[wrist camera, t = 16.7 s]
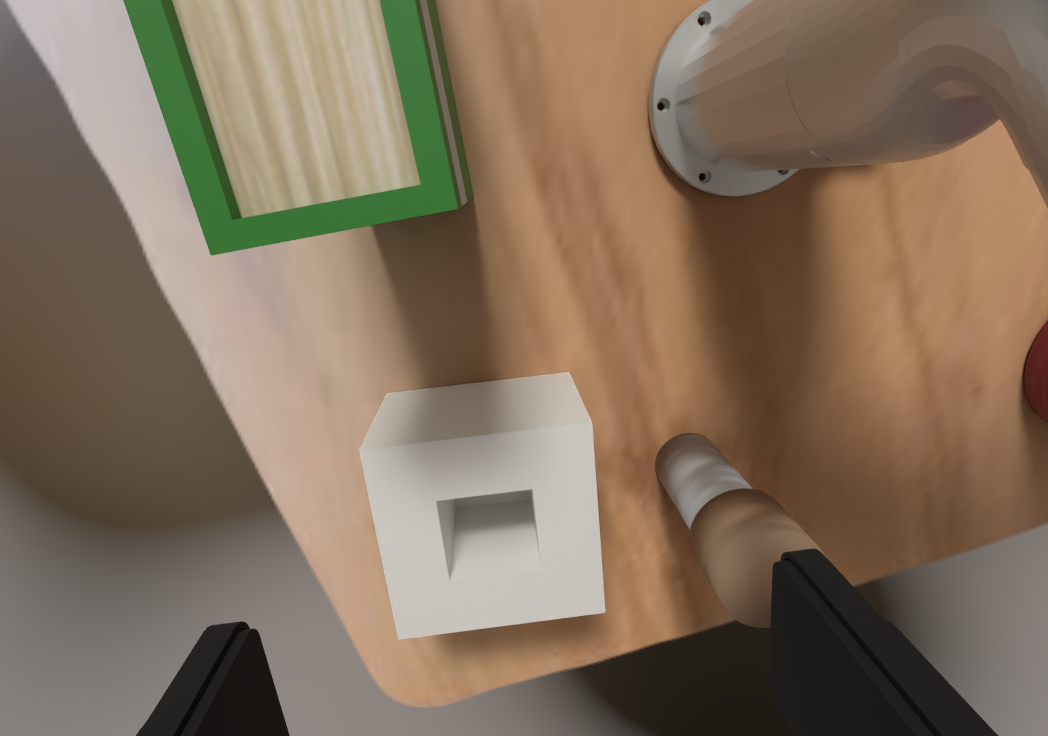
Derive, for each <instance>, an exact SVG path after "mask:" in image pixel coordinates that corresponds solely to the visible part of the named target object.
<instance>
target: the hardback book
mask: <svg viewBox="0 0 1048 736" xmlns="http://www.w3.org/2000/svg"><path fill="white" fill-rule="evenodd" d="M123 1H124V4H125V7H126V9H127V12H128V15H129V18H130V21H131V24H132V27H133V30H134V33H135V36H136V39H137V42H138V44H139V47H140V50H141V53H142V56H143V59H144V62H145V65H146V68H147V71H148V74H149V76H150V79H151V82H152V85H153V88H154V91H155V94H156V97H157V100H158V103H159V106H160V109H161V111H162V114H163V117H164V120H165V123H166V126H167V129H168V132H169V135H170V138H171V141H172V143H173V146H174V149H175V152H176V155H177V158H178V161H179V164H180V167H181V170H182V173H183V176H184V178H185V181H186V184H187V187H188V190H189V193H190V196H191V199H192V202H193V205H194V208H195V211H196V213H197V216H198V219H199V222H200V225H201V228H202V231H203V234H204V237H205V240H206V243H207V245H208V248H209V251H210V254H211V255H216V254H221V253H227V252H232V251H237V250H242V249H248V248H253V247H258V246H264V245H269V244H274V243H280V242H285V241H290V240H296V239H301V238H306V237H312V236H317V235H322V234H328V233H333V232H338V231H344V230H349V229H354V228H360V227H365V226H370V225H376V224H381V223H386V222H392V221H397V220H402V219H408V218H413V217H418V216H424V215H429V214H434V213H440V212H445V211H450V210H456V209H459V208H460V207H461V206H463V205H464V204H465V203H467V202H468V201H469V200H471V199H472V198H474V197H473V192H472V187H471V181H470V176H469V171H468V166H467V161H466V156H465V151H464V146H463V141H462V136H461V131H460V126H459V121H458V115H457V110H456V105H455V100H454V95H453V90H452V85H451V80H450V75H449V70H448V65H447V60H446V55H445V49H444V44H443V39H442V34H441V29H440V24H439V19H438V14H437V9H436V4H435V0H123Z"/></svg>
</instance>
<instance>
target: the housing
mask: <svg viewBox="0 0 1048 736" xmlns="http://www.w3.org/2000/svg"><path fill="white" fill-rule="evenodd" d="M359 452H360V457H361V462H362V467H363V472H364V477H365V481H366V486H367V491H368V496H369V501H370V505H371V510H372V515H373V520H374V525H375V530H376V534H377V539H378V544H379V549H380V554H381V559H382V563H383V568H384V573H385V578H386V583H387V587H388V592H389V597H390V602H391V607H392V612H393V616H394V621H395V626H396V631H397V636H398V640H399V639H407V638H415V637H423V636H430V635H438V634H446V633H453V632H461V631H469V630H477V629H484V628H492V627H500V626H507V625H515V624H523V623H530V622H538V621H546V620H554V619H561V618H569V617H577V616H584V615H592V614H600V613H605V600H604V585H603V571H602V557H601V542H600V528H599V514H598V500H597V485H596V471H595V457H594V442H593V428H592V421H591V419H590V417H589V415H588V412H587V410H586V408H585V406H584V404H583V401H582V399H581V397H580V395H579V393H578V390H577V388H576V386H575V384H574V382H573V380H572V377H571V375H570V373H569V372H563V373H555V374H546V375H538V376H529V377H520V378H512V379H503V380H495V381H486V382H478V383H469V384H460V385H452V386H443V387H435V388H426V389H417V390H409V391H400V392H392V393H386V395H385V397H384V400H383V402H382V404H381V406H380V408H379V410H378V412H377V414H376V416H375V418H374V420H373V422H372V424H371V426H370V429H369V431H368V433H367V435H366V437H365V439H364V441H363V443H362V445H361V447H360V449H359Z"/></svg>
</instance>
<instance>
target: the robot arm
mask: <svg viewBox="0 0 1048 736" xmlns="http://www.w3.org/2000/svg"><path fill="white" fill-rule="evenodd" d="M698 19H701V20H702V21H703V25H702V26H700V25H699V24H698ZM658 103H661V104H663V109H662V111H660V110H658V108H657V105H658ZM648 115H649V121H650V127H651V132H652V135H653V138H654V141H655V143H656V146H657V149H658V151H659V152H660V154H661V156H662V157H663V159H664V161H665V162H666V164H667V165H668V166H669V167H670V168H671V169H672V171H673V172H674V173H675V174H676V175H677V176H678V177H679V178H681V179H682V180H684V181H685V182H686V183H688V184H689V185H690V186H692V187H695V188H697V189H699V190H701V191H704V192H706V193H711V194H715V195H720V196H743V195H752V194H755V193H759V192H762V191H765V190H768V189H770V188H772V187H774V186H776V185H778V184H780V183H782V182H784V181H785V180H787V179H788V178H789V177H790V176H792V175H793V174H794V173H796V172H797V171H798V170H799V169H806V168H822V167H838V166H854V165H870V164H885V163H893V162H905V161H911V160H917V159H923V158H927V157H930V156H934V155H937V154H940V153H943V152H945V151H948V150H950V149H953V148H955V147H957V146H959V145H961V144H963V143H965V142H966V141H968V140H970V139H972V138H973V137H975V136H977V135H978V134H980V133H981V132H983V131H985V130H986V129H987V128H989V127H990V126H992V125H993V124H994V123H996V122H997V121H998V120H999V119H1000V120H1001V122H1002V123H1003V125H1004V127H1005V128H1006V130H1007V132H1008V134H1009V136H1010V138H1011V140H1012V142H1013V144H1014V146H1015V148H1016V150H1017V152H1018V154H1019V156H1020V158H1021V160H1022V162H1023V164H1024V165H1025V167H1026V168H1027V169H1028V170H1029V171H1030V173H1031V175H1032V177H1033V179H1034V181H1035V183H1036V185H1037V187H1038V189H1039V191H1040V193H1041V195H1042V197H1043V200H1044V202H1045V204H1046V206H1047V208H1048V0H708V1H707V2H706V3H704V4H703V5H701V6H700V7H698V8H697V9H696V10H694V11H693V12H692V13H691V14H690V15H688V16H687V17H686V18H685V19H684V20H683V21H682V22H681V23H680V24H679V26H678V27H677V28H676V29H675V30H674V32H673V33H672V34H671V35H670V36H669V38H668V40H667V41H666V43H665V45H664V47H663V49H662V50H661V52H660V54H659V56H658V59H657V62H656V64H655V67H654V70H653V73H652V77H651V82H650V88H649V93H648ZM778 170H780V171H779V172H778ZM700 173H702V174H703V176H704V178H703V180H702V181H700V180H699V174H700ZM769 651H770V652H769V683H770V687H771V691H772V693H773V696H774V698H775V700H776V702H777V704H778V705H779V707H780V709H781V710H782V713H783V714H784V716H785V718H786V720H787V721H788V723H789V725H790V727H791V728H792V730H793V732H794V734H795V735H796V736H998V735H997V734H996V733H995V732H994V731H993V730H992V729H991V728H990V727H989V726H988V724H987V723H986V722H985V721H984V720H983V719H982V718H981V717H980V716H979V715H978V714H977V713H976V712H975V711H974V710H973V708H972V707H970V705H969V704H968V703H967V702H966V701H965V700H964V699H963V698H962V697H961V696H960V695H959V694H958V692H957V691H956V690H955V689H954V688H953V687H952V686H951V685H950V684H949V683H948V682H947V681H946V680H945V679H944V678H943V677H942V675H941V674H940V673H939V672H938V671H937V670H936V669H935V668H934V667H933V666H932V665H931V664H930V663H929V662H928V660H927V659H926V658H925V657H924V656H923V655H922V654H921V653H920V652H919V651H918V650H917V649H916V648H915V647H914V646H913V645H912V643H911V642H910V641H909V640H908V639H907V638H906V637H905V636H904V635H903V634H902V633H901V632H900V631H899V630H898V629H897V628H896V627H895V626H894V625H893V624H891V623H890V622H888V621H886V620H883V619H882V617H881V616H880V615H879V614H878V613H877V612H876V611H875V610H874V609H873V608H872V607H871V606H870V604H869V603H868V602H867V601H866V600H865V599H864V598H863V597H862V596H861V595H860V594H859V593H858V591H856V589H855V588H854V587H853V586H852V585H851V584H850V583H849V582H848V581H847V580H846V578H845V577H844V576H843V575H842V574H841V573H840V572H839V571H838V570H837V569H836V568H835V567H834V565H833V564H832V563H831V562H830V561H829V560H828V559H827V558H826V557H825V556H824V555H823V554H822V553H821V552H820V551H819V550H818V549H814V548H813V549H805V550H797V551H790V552H785V553H783V554H782V556H781V560H780V561H778V562H774V564H773V569H772V596H771V623H770V650H769ZM136 736H289V732H288V729H287V726H286V722H285V719H284V716H283V712H282V709H281V706H280V702H279V699H278V695H277V692H276V689H275V685H274V682H273V679H272V675H271V672H270V669H269V665H268V662H267V659H266V655H265V652H264V648H263V645H262V642H261V638H260V635H259V633H258V631H257V630H256V629H250V628H249V626H248V624H246V623H245V622H234V623H227V624H219V625H211V626H209V627H207V629H206V630H205V631H204V632H203V634H202V635H201V637H200V639H199V640H198V642H197V643H196V645H195V646H194V648H193V649H192V651H191V653H190V654H189V656H188V657H187V659H186V660H185V662H184V664H183V665H182V667H181V668H180V670H179V671H178V673H177V675H176V676H175V678H174V679H173V681H172V683H171V684H170V686H169V687H168V689H167V690H166V692H165V693H164V695H163V697H162V698H161V700H160V701H159V703H158V705H157V706H156V708H155V709H154V711H153V713H152V714H151V716H150V717H149V719H148V720H147V722H146V723H145V724H144V726H143V727H142V728H141V729H140V730H139V732H138V734H137V735H136Z"/></svg>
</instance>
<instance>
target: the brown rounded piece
mask: <svg viewBox="0 0 1048 736" xmlns="http://www.w3.org/2000/svg"><path fill="white" fill-rule="evenodd" d="M655 470H656V474H657V476H658V478H659V480H660V481H661V483H662V485H663V486H664V488H665V490H666V491H667V493H668V495H669V496H670V498H671V500H672V501H673V503H674V505H675V506H676V508H677V510H678V511H679V513H680V515H681V516H682V518H683V520H684V521H685V523H686V525H687V526H688V528H689V530H690V534H689V541H690V546H691V550H692V552H693V554H694V556H695V558H696V559H697V561H698V563H699V565H700V566H701V568H702V570H703V572H704V573H705V575H706V577H707V579H708V580H709V582H710V584H711V586H712V587H713V589H714V591H715V593H716V594H717V596H718V598H719V600H720V601H721V603H722V605H723V607H724V608H725V610H726V611H727V612H728V614H729V615H730V616H731V617H733V618H734V619H735V620H737V621H739V622H740V623H743V624H745V625H749V626H752V627H760V628H767V627H768V628H769V627H770V623H771V596H772V569H773V564H774V562H778V561H780V560H781V556H782V554H783V553H785V552H790V551H797V550H805V549H813V548H814V549H818V550H819V551H820V552H821V553H822V554H823V555H824V553H823V551H822V550H821V549H820V547H819V546H818V545H817V544H816V543H815V542H814V541H813V540H812V539H811V538H810V537H809V536H808V534H807V533H806V532H805V531H804V530H803V529H802V528H801V527H800V526H799V525H798V524H797V523H796V522H795V521H794V519H793V518H792V517H791V516H790V515H789V514H788V513H787V512H786V511H785V510H784V509H783V508H782V507H781V506H780V504H779V503H778V502H777V501H776V500H775V499H774V498H772V497H771V496H770V495H768V494H766V493H764V492H762V491H759V490H755V489H752V487H751V486H750V485H749V484H748V483H747V482H746V481H745V480H744V478H743V477H742V476H741V475H740V474H739V473H738V472H737V471H736V469H735V468H734V467H733V466H732V465H731V464H730V463H729V462H728V460H727V459H726V458H725V457H724V456H723V455H722V454H721V453H720V452H719V450H718V449H717V448H716V447H715V446H714V445H713V444H712V443H711V442H710V441H709V440H708V439H707V438H705V437H704V436H701V435H699V434H693V433H687V434H681V435H678V436H675V437H673V438H672V439H670V440H669V441H667V442H666V443H665V444H664V445H663V446H662V447H661V449H660V450H659V452H658V454H657V457H656V461H655ZM824 556H825V555H824Z"/></svg>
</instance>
